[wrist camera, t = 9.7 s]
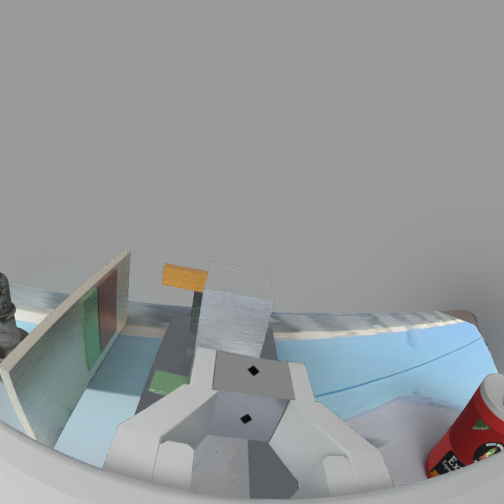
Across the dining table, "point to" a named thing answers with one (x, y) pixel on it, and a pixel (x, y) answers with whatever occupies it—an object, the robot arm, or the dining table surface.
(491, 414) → the canned food
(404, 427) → the dining table surface
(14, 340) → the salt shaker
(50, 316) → the base
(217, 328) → the brushed steel slab
